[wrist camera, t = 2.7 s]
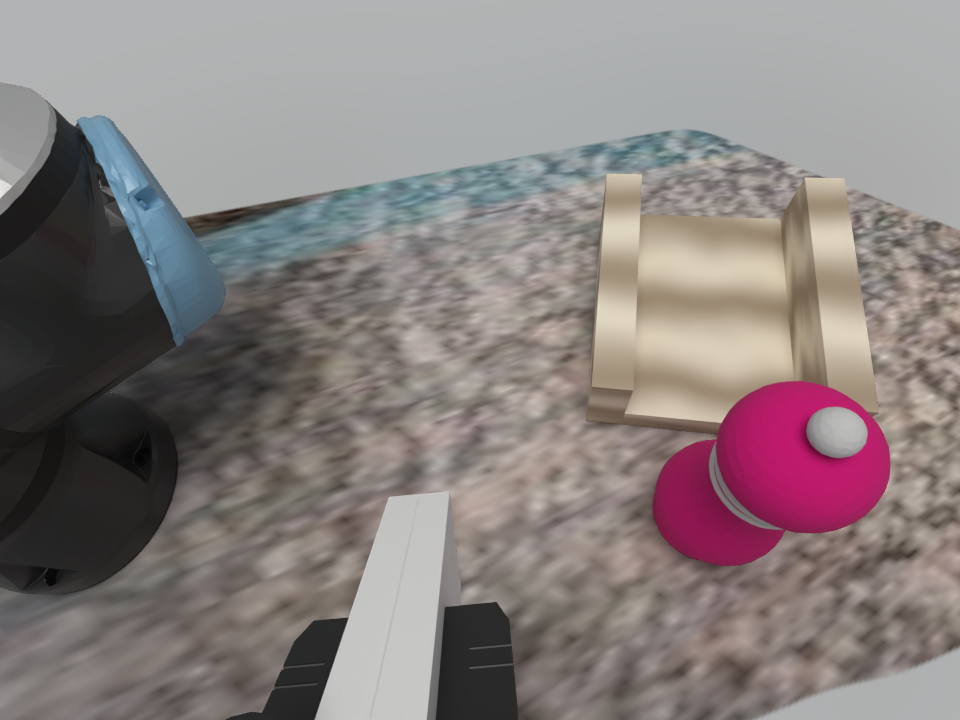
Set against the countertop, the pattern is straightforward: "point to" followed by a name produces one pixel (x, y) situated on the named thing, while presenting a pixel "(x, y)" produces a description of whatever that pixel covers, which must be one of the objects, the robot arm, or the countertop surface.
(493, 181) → the countertop surface
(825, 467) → the pepper mill
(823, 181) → the u rest
